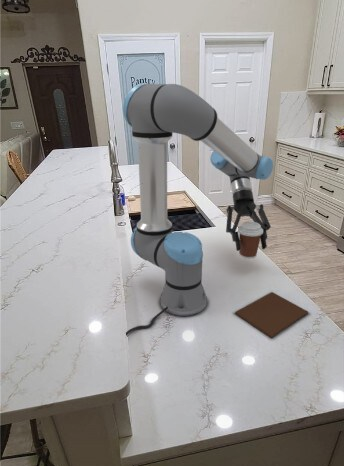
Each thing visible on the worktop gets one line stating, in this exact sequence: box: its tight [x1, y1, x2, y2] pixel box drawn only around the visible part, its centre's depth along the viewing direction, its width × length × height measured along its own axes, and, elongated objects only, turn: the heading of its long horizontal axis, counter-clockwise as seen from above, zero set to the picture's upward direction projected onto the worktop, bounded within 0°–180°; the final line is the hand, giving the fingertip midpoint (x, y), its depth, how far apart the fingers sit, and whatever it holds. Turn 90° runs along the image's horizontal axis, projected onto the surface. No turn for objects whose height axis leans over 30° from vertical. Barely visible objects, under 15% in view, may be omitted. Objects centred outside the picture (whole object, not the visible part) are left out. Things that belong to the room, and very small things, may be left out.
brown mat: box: [234, 291, 309, 339], centre depth 103 cm, size 18×14×1 cm
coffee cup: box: [237, 221, 263, 260], centre depth 121 cm, size 9×9×12 cm
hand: (251, 248), depth 119 cm, fingers closed on coffee cup, 9 cm apart
